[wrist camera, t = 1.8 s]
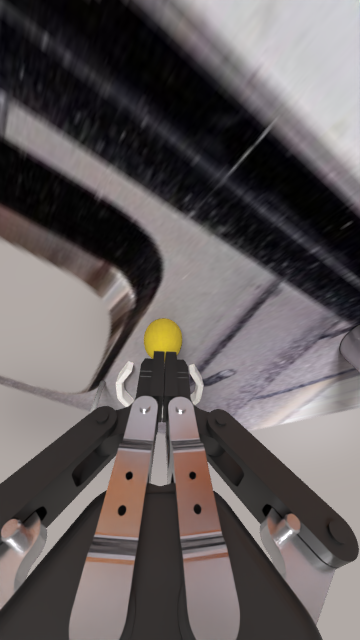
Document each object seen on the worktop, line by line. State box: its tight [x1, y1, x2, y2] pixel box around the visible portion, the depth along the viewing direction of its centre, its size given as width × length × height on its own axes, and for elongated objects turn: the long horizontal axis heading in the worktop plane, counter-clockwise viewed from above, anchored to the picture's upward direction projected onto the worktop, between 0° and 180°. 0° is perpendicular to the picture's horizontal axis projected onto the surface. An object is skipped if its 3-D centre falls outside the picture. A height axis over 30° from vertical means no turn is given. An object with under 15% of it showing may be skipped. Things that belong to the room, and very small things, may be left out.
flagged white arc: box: [89, 361, 203, 418], centre depth 36 cm, size 19×14×16 cm
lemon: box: [144, 318, 182, 362], centre depth 31 cm, size 6×6×8 cm
